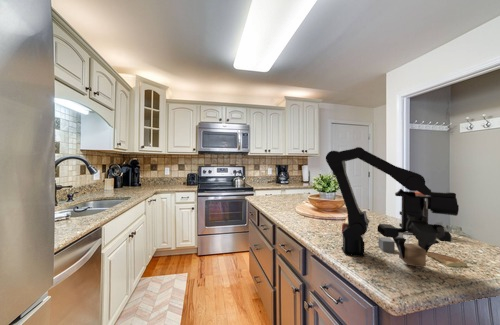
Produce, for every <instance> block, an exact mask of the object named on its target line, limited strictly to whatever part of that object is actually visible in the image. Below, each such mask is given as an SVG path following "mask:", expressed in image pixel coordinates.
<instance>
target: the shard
mask: <svg viewBox="0 0 500 325" xmlns="http://www.w3.org/2000/svg"><path fill="white" fill-rule="evenodd" d="M426 257H429V258H431V259H433V260H435V261H437V262H439V263H440V264H442V265H444V266H447V267H458V266H463V268H464V267H465V268H466V266H467V262H466V261H463V260H461V259H459V258H457V257H453V256H450V255H446V254H441V253H436V252H432V251H429V250H428V251H427V253H426Z"/></svg>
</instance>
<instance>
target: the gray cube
mask: <svg viewBox="0 0 500 325" xmlns="http://www.w3.org/2000/svg"><path fill="white" fill-rule="evenodd" d="M377 241H378V244H377V245H378V246H377V247H378V248H379V249H380V250H381V251H382V252H389V253H396V252H395V250H396V248H395V247H396V246H395V245H396V243H395V242H394V240H393V239H391V237H378V240H377Z"/></svg>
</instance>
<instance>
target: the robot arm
mask: <svg viewBox="0 0 500 325" xmlns="http://www.w3.org/2000/svg"><path fill="white" fill-rule="evenodd" d="M356 159H358V160H361V161H362V162H364V163H367V164H368V165H369V166H372V167H373V168H375V169H377V170H379V171H381V172H382V173H385V174H387V175H389V177H391V178H392V179H394V181H396V182H397V183H398V184H400V185H402V186H403V188H405V189H407V190H409V191H407V190H406V191H405V190H404V189H402V188H400V189H398V191H397V192H395V193H394V195H395V196H396V197H401V211H399V215H400V216H401V221H400V222H401V223H399V224H398V225H399V226H398V227H396V226H393V225H392V224H388V223H387V224H386V223H379V224H378V225H377V233H379V234H380V235H382V236H383V237H384V238H392V240H393V241H394V242H395V245H396V246H395V247H396V248H397V250H398V252H399V253H400V255H401V257H402V258H404V256H405V247H404V243H406V241H407V239H406V238H404V235H405V236H406V235H407V236H408V235H409V236H414V238H415V239H416V240H417V245H418V246H420V247H421V248H423V249H425V250H426V253H427V251H428V252H429V249H430V248H431V247H432V246H433V245H435V244H439V243H440V242H445V243H447V242H448V243H450V242H452V241H453V240H452V237H453V236H452V235H451V232H449V231H447V230H445V227H444V225H442V224H437V223H436V224H435V223H434V224H432V223H431V224H430V223H429V221H428V222H427V216H424V198H425V201H426V208H427V209H428V210H429V212H430V213H431V214H439V215H446V216H447V215H448V216H458V214H459V207H460V206H459V205H460V204H458V200H457V194H456V193H455V192H453V191H452V192H439V191H438V192H437V191H432V189H431V188H429V187H428V186H427V185H426V180H425V177H424V176H423V175H422V174H420V173H417V172H415V171H411V170H408V169H405V168H402V167H399V166H397V165H394V164H393V163H391V162H388V161H387V160H385V159H383V158H380V157H379V156H376V155H375V154H373V153H371V152H369V151H367V150H365V149H364V148H362V147H360V146H359V147H358V146H357V147H355V148H350V149H345V150H341V151H338V150H331V151H328V153H327V154H326V156H325V161H326V164H327V165H328V167H329V169H330V170H331V171H332V173H333V174H334V176H335V179H336V182H337V185H338V187H339V191H340V194H341V196H342V199H343V201H344V205H345V207H346V211H347V215H348V224H349V225H348V226H346V228H345V229H344V231H343V232H342V231H341V233H342V246H341V248H340V249H341V250H342V251H343V254H344V255H345V256H353V257H366V256H365V245H366V244H365V241H364V237H363V236H364V235H366V233H367V231H368V229H369V223H370V220H369V218H368V216H367V211H366V210H364V211H362V210H361V208H360V206H359V204H358V202H357V199H356V196H355V194H354V193H355V192H354V191H353V188H352V186H351V183H350V179H349V176H348V174H347V169H346V168H347V166H346V165H347V164H346V162H348V161H352V160H356ZM415 192H420V193H422V194H423V195H426V196H422V195H415ZM437 239H438V240H437ZM399 253H398V254H399Z"/></svg>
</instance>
